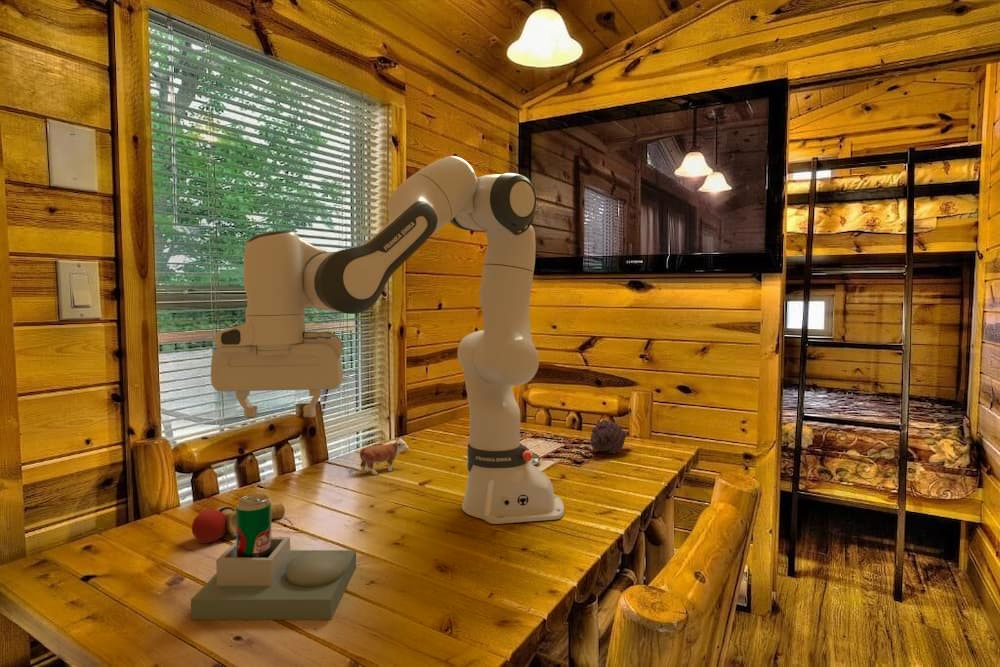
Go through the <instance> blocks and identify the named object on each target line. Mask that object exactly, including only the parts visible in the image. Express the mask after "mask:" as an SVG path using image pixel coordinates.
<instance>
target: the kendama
mask: <svg viewBox="0 0 1000 667" xmlns="http://www.w3.org/2000/svg"><path fill="white" fill-rule="evenodd" d="M285 511H286V509H285V506H284V505H283V504H282V503H280V502H279V503H277V504H273V505H271V520H274V519H282V518H284V515H285V514H286V513H285ZM191 532H192V535H193V537H194V538H195V539H196V541H198V542H200V543H202V544H210V543H213V542H217V541H218V540H219V539H220V538H222V537H223V536H225V534H227V533H228V532H229V533H230V534H233V535H236V509H235V508H234V507H232V506H229V505H223V506H219V507H217V508H216V509H212V508H211V509H206V510H203V511H202V512H200V513H198V514H197V515H196V517H195V518H194V520H193V521H192V524H191Z"/></svg>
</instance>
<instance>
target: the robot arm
mask: <svg viewBox="0 0 1000 667" xmlns="http://www.w3.org/2000/svg"><path fill="white" fill-rule="evenodd" d="M387 201H388V202H387V212H388V215H389V218H390V222H389V223H387V224H386V225H385V226H384V227H383V228H382V229H380V230H379V231H378V232H377V233H376V234H375V235H374V236H373V237H371V238H370V239H368V241H366V243H364V244H362V245H359V246H356V247H349V248H343V249H340V250H337V251H330V252H328V251H327V250H324V249H321V248H320V247H317V246H315V245H313V244H311V243H310V242H308V241H306V240H304V238H302V237H300V236H299V235H298V234H297V233H296V232H295V231H293V230H289V229H287V230H286V229H285V230H275V231H270V232H264V233H263V232H262V233H259V234H255V235H254V236H251V237H250V238H249V239H248V240H247V241H246V243H245V248H244V254H243V255H244V256H243V288H244V291H245V294H246V299H247V305H246V308H245V321H244V323H243V324H242V323H241V324H237V325H235V326H234V327H230V328H228V329H224V330H221V331H218V332H217V333H215V334H214V337H213V338H214V344H215V345H216V347H217V348H216V349H215V350H214V351H213V353H212V357H211V365H210V382H211V385H212V386H211V387H213V389H214V390H216V392H235V399H236V400H237V402H238V404H240V405H241V407H242V408H243V415H244V418H245V419H255V418H257V417H258V405H253V404H252V403H251V401H250V399H249V398H248V396H250V394H251V392H253V391H255V392H258V391H259V392H264V391H267V392H268V391H301V390H302V391H304V390H305V391H309V392H308V394H309V397H312V399H311V400H310V402H309V403H308V404H305V405H304V406H303V407H302V411H303V415H302V416H303V417H304V418H314V417H316V413H317V411H316V405H317V404H318V402H319V399H320V398H321V397H322V395H323V394H322V390H336V389H337V388H339V387H340V386H341V385H342V383H343V381H344V372H343V364H342V361H341V360H342V359H341V357H342V354H343V342H342V339H341V338H340V337H339V335H337V334H334V333H333V331H320V332H319V331H306V321H305V319H306V316H305V309H306V307H311V308H313V309H318V310H325V311H334V312H335V311H336V312H338V313H339V312H340V313H343V314H347V315H355V314H359V313H360V314H361V313H363V312H366V311H368V310H369V309H371V308H372V307H373V306H374V305H375V304H376V303H377V301H378V300H379V299H380V297H381V295H382V293H383V291H384V289H385V287H386V286H387V283H388V281H389V280H390V278H391V277H392V276H393V274H394V273H395V272H396V271H397V270H398V269H399V268H400V267H401V266H402V265H403V264H404V263H405V262H406V261H407V260H408V259H409V258H410V257H411V256H412V255H413V254H414V253H415V252H416V251H417V250H419V248H421V246H423V244H425V242H427V241H428V240H429V238H431V237H432V236H434V235H435V234H437V233H438V232H439V231H440V230H441V229H443V228H444V227H446V225H447V224H449V223H451V225H453V226H454V227H456V228H457V229H461V230H465V231H474V230H475V231H484V233H485V235H486V240H487V247H486V251H485V255H484V260H483V261H484V262H483V267H482V274H481V281H480V288H479V296H478V303H479V306H480V308H481V309H480V310H481V312H482V321H483V329H480V330H477V331H473V332H471V333H468V334H467V335H465V336H464V337H463V338H462V339H461V341H460V342H459V344H458V347H457V354H456V355H457V360H458V363H459V365H460V366H461V370H462V373H463V379H464V384H465V391H466V394H467V401H468V407H469V443H468V445H467V450H466V467H467V471H468V473H467V481H466V488H465V493H464V498H463V500H462V504H461V510H462V511H463V512H464V513H465V514H467V515H469V516H472V517H474V518H478V519H481V520H483V521H485V522H487V523H488V524H492V525H499V524H513V523H524V522H525V523H526V522H527V523H528V522H538V521H539V522H541V521H552V520H553V521H554V520H559V519H561V518H562V517H563V516H564V514H565V505H564V502H563V500H562V498H561V497H559V496H557V494H555V493H554V486H553V484H552V481H551V479H550V478H549V476H548V475H547V474H546V473H544V472H543V471H542V470H541V469H539V468H538V467H537V466H535V465H534V464H532V463H531V461H532V459H533V453H532V452H531V450H530V449H529V448H528V447H527V445H526V444H524V445H523V444H522V443H521V410H520V406H519V403H517V400H516V397H515V395H514V392H513V387H517V386H523V385H526V384H527V383H529V382H530V381H532V380H533V379H534V378H535V375H536V374H537V373H538V370H539V365H540V356H539V353H538V350H537V348H536V346H535V345H534V342H533V336H532V329H531V320H530V304H531V303H530V302H531V294H532V286H533V278H534V272H535V265H536V248H537V246H536V231H535V229H534V227H533V226H532V223H533V221H534V218H535V213H536V209H537V208H536V206H537V196H536V191H535V189H534V186H533V184H532V182H531V181H530V179H529V178H528V177H526V176H524V175H522V174H519V173H514V172H505V173H500V174H498V173H496V174H485V175H482V176H478V177H477V174H476V172H475V171H474V168H473V167H472V166H471V164H469V162H467V161H466V160H465V159H463V158H462V157H459V156H456V155H455V156H454V155H447V156H445V157H442V158H440V159H437V160H436V161H433V162H431V163H429V164H428V165H426V166H424V167H422V168H421V169H419V170H418V171H417V172H415V173H413V174H412V175H410V176H409V177H408V178H407V179H405V180H404V181H403V182H402V183H401V184H399V185H398V187H396V189H395V190H394V191H393V192H392V193H391V195H390V196H389V197H388V200H387ZM333 337H334V338H333Z"/></svg>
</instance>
